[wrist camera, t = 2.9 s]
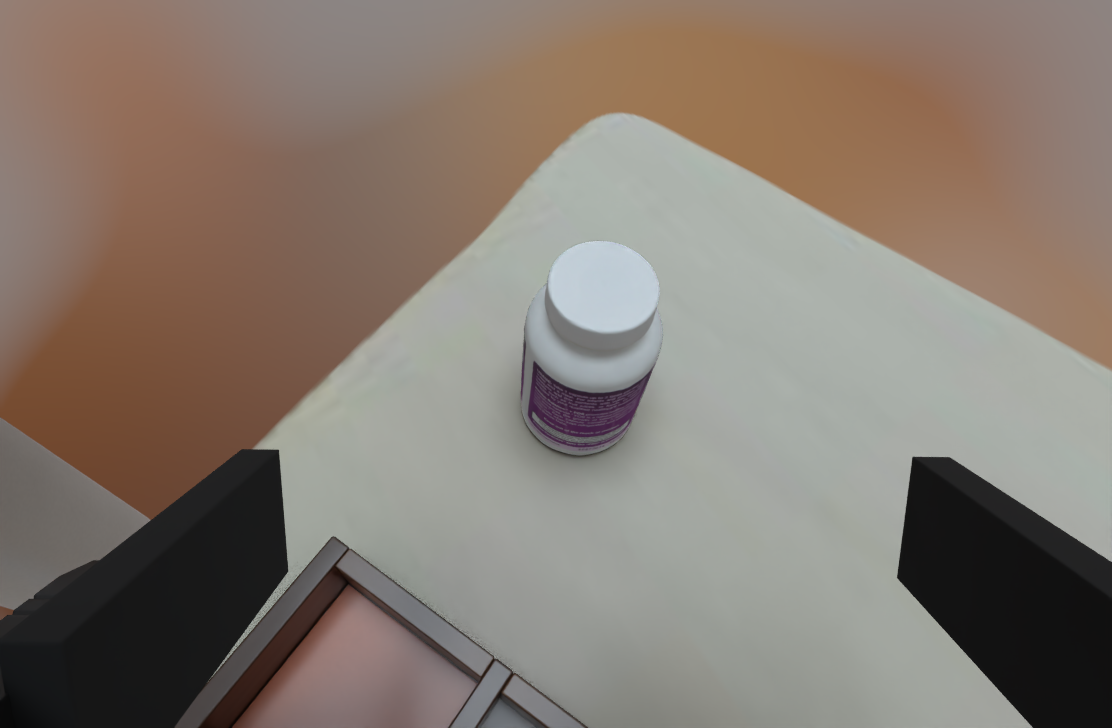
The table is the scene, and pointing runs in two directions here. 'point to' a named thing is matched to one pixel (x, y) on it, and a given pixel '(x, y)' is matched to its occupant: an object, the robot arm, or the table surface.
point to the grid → (363, 663)
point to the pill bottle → (590, 347)
